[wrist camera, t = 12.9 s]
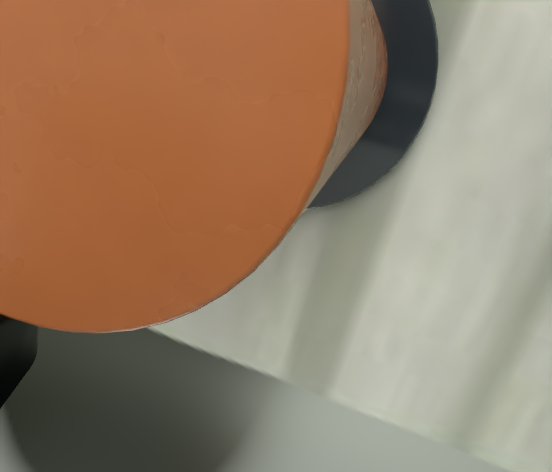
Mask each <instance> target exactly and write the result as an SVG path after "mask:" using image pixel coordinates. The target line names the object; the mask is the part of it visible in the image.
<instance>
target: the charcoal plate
mask: <svg viewBox="0 0 552 472" xmlns="http://www.w3.org/2000/svg"><path fill="white" fill-rule="evenodd" d="M371 2H372V5H373V8H374V10H375V13H376V15H377V18H378V21H379V23H380V26H381V28H382V32H383V36H384V39H385V44H386V51H387V78H386V85H385V89H384V93H383V97H382V100H381V103H380V105H379V108H378V110H377V112H376V114H375V116H374V118H373V120H372V122H371V123H370V125H369V126H368V127H367V129H366V130H365V132H364V133H363V134H362V136H361V137H360V138H359V140H358V141H357V142H356V144H355V145H354V146H353V148H352V149H351V150H350V152H349V153H348V154H347V156H346V157H345V158H344V160H343V161H342V162H341V163H340V165H339V166H338V167H337V169H336V170H335V171H334V173H333V174H332V175H331V177H330V178H329V179H328V181H327V182H326V183H325V185H324V186H323V187H322V189H321V190H320V191H319V193H318V194H317V195H316V197H315V198H314V199H313V200H312V202H311V203H310V204H309V206H308V207H307V208H306V209H311V208H317V207H323V206H327V205H330V204H334V203H337V202H340V201H343V200H345V199H347V198H350V197H352V196H354V195H356V194H358V193H360V192H362V191H363V190H365V189H367V188H368V187H370V186H371V185H373V184H375V183H376V182H377V181H378V180H379V179H381V178H382V177H383V176H384V175H386V174H387V173H388V172H389V171H390V170H391V169H392V168H393V167H394V166H395V165H396V164H397V163H398V162H399V161H400V159H401V158H402V157H403V156H404V154H405V153H406V152H407V150H408V149H409V148H410V146H411V145H412V143H413V142H414V140H415V138H416V137H417V135H418V133H419V131H420V129H421V128H422V126H423V124H424V121H425V119H426V116H427V113H428V111H429V108H430V106H431V102H432V98H433V94H434V90H435V86H436V79H437V71H438V38H437V31H436V24H435V19H434V16H433V12H432V8H431V5H430V1H429V0H371Z"/></svg>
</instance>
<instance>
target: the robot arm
mask: <svg viewBox="0 0 552 472" xmlns="http://www.w3.org/2000/svg"><path fill="white" fill-rule="evenodd" d="M38 330H39V327H38V326H35V325H32V324H28V323H25V322H22V321H19V320H15V319H12V318H9V317H6V316H4V315H2V314H0V408H1V407H2V405H3V404H4V403H5V401H6V400H7V399H8V397H9V396H10V395H11V393H12V392H13V390H14V389H15V388H16V386H17V385H18V384H19V382H20V381H21V380H22V378H23V377H24V376H25V374H26V373H27V371H28V370H29V369H30V367H31V366H32V364H33V362H34V360H35V357H36V354H37V347H38V346H37V345H38Z"/></svg>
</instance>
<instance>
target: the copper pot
mask: <svg viewBox="0 0 552 472" xmlns="http://www.w3.org/2000/svg"><path fill="white" fill-rule="evenodd" d="M386 78H387V51H386V44H385V39H384V36H383V32H382V28H381V26H380V23H379V21H378V18H377V15H376V13H375V10H374V8H373V5H372V2H371V0H0V314H2V315H4V316H6V317H9V318H12V319H15V320H19V321H22V322H25V323H28V324H32V325H35V326H38V327H44V328H50V329H55V330H61V331H67V332H82V333H109V332H119V331H131V330H137V329H141V328H145V327H150V326H154V325H158V324H162V323H166V322H169V321H171V320H174V319H176V318H179V317H181V316H184V315H186V314H189V313H192V312H194V311H196V310H198V309H200V308H202V307H203V306H205V305H207V304H209V303H210V302H212V301H214V300H216V299H217V298H219V297H221V296H222V295H224V294H226V293H227V292H228V291H230V290H231V289H232V288H233V287H235V286H236V285H237V284H239V283H240V282H241V281H242V280H244V279H245V278H246V277H247V276H249V275H250V274H251V273H252V272H254V271H255V270H256V268H257V267H258V266H259V265H260V264H261V263H262V262H263V261H264V260H265V259H266V258H267V257H268V256H269V255H270V254H271V253H272V252H273V251H274V250H275V248H276V247H277V246H278V245H279V244H280V243H281V241H282V240H283V239H284V237H285V236H286V235H287V234H288V232H289V231H290V230H291V228H292V227H293V226H294V224H295V223H296V222H297V220H298V219H299V218H300V216H301V215H302V214H303V212H304V211H305V210H306V208H307V207H308V206H309V204H310V203H311V202H312V200H313V199H314V198H315V197H316V195H317V194H318V193H319V191H320V190H321V189H322V187H323V186H324V185H325V183H326V182H327V181H328V179H329V178H330V177H331V175H332V174H333V173H334V171H335V170H336V169H337V167H338V166H339V165H340V163H341V162H342V161H343V160H344V158H345V157H346V156H347V154H348V153H349V152H350V150H351V149H352V148H353V146H354V145H355V144H356V142H357V141H358V140H359V138H360V137H361V136H362V134H363V133H364V132H365V130H366V129H367V127H368V126H369V125H370V123H371V122H372V120H373V118H374V116H375V114H376V112H377V110H378V108H379V105H380V103H381V100H382V97H383V93H384V89H385V85H386Z"/></svg>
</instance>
